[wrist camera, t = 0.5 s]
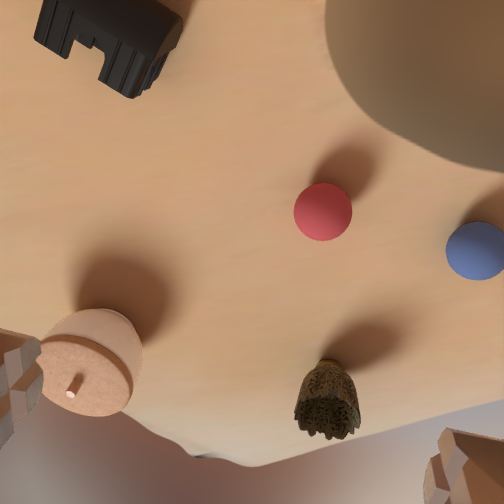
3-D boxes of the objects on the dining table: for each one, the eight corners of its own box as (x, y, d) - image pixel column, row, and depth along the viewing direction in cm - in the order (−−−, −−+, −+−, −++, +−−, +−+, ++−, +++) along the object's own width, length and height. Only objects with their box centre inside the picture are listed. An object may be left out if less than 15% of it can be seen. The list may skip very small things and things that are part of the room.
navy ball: (452, 207, 46) (463, 236, 41) (510, 216, 45) (528, 247, 41) (434, 254, 49) (443, 286, 44) (488, 263, 48) (503, 296, 44)
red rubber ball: (301, 169, 46) (295, 194, 42) (357, 178, 46) (358, 204, 41) (292, 218, 49) (287, 246, 45) (345, 227, 49) (345, 256, 44)
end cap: (193, 12, 41) (168, 24, 35) (160, 85, 44) (133, 105, 39) (87, -59, 39) (43, -59, 33) (62, 22, 43) (19, 35, 37)
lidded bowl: (81, 274, 59) (32, 335, 50) (171, 323, 61) (139, 390, 52) (53, 334, 66) (6, 397, 56) (135, 376, 67) (102, 444, 58)
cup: (367, 354, 58) (369, 407, 51) (350, 393, 62) (350, 447, 55) (307, 339, 58) (301, 390, 52) (294, 379, 62) (287, 431, 56)
